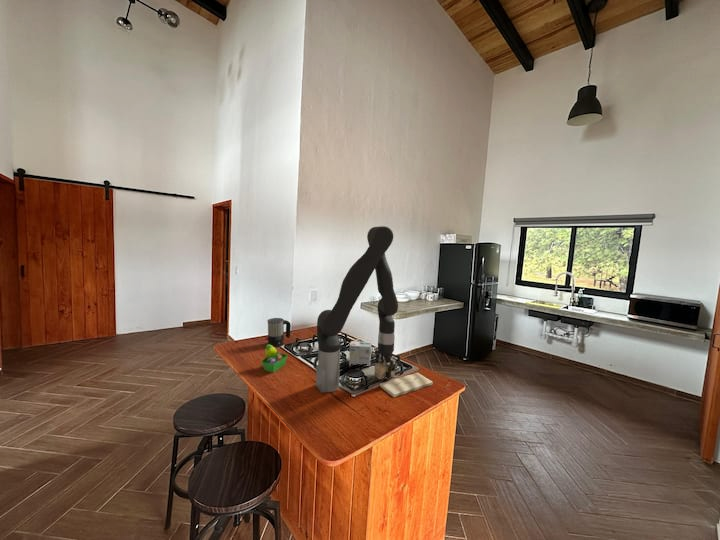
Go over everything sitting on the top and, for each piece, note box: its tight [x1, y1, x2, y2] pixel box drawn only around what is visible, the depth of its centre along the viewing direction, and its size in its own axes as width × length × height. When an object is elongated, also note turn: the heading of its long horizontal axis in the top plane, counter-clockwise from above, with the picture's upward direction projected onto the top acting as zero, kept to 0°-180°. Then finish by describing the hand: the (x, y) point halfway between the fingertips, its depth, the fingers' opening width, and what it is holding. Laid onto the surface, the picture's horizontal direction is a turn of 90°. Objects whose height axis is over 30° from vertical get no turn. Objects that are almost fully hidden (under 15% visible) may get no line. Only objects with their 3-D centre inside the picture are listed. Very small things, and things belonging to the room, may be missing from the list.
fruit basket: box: [260, 344, 288, 373], centre depth 140 cm, size 11×9×11 cm
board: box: [379, 372, 434, 398], centre depth 128 cm, size 22×10×1 cm, turn 122°
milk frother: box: [267, 317, 292, 348], centre depth 172 cm, size 14×16×15 cm
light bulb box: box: [348, 340, 372, 367], centre depth 147 cm, size 11×7×11 cm, turn 84°
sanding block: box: [374, 362, 396, 379], centre depth 135 cm, size 8×5×6 cm, turn 122°
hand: (384, 375), depth 135 cm, fingers closed on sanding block, 5 cm apart
